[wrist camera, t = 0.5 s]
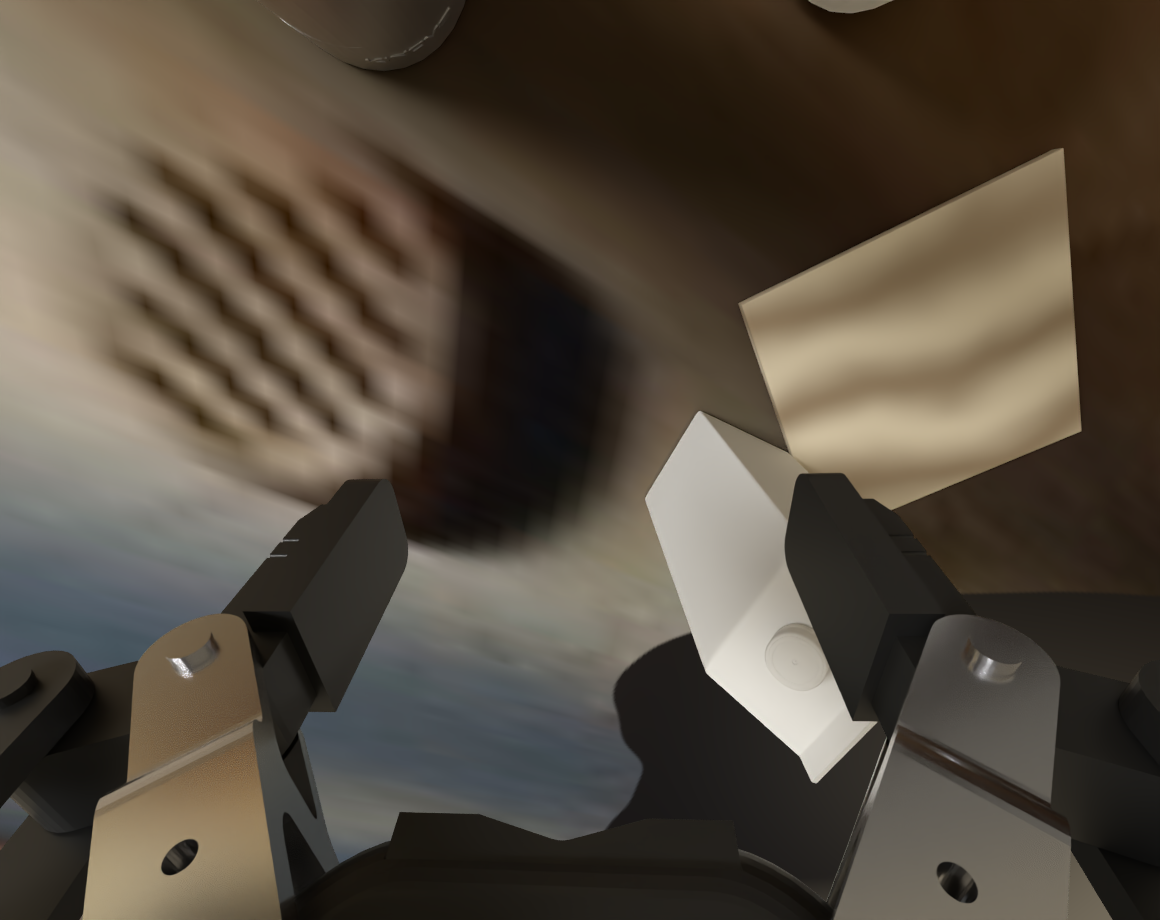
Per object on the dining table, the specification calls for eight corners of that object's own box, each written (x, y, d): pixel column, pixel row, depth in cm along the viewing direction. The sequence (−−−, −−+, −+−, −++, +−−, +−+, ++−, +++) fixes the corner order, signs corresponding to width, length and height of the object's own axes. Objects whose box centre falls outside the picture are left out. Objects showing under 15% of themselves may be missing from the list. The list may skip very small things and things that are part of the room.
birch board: (738, 303, 31) (741, 304, 30) (1053, 149, 28) (1063, 147, 28) (817, 534, 38) (821, 539, 38) (1073, 427, 36) (1081, 431, 35)
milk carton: (788, 451, 35) (1022, 680, 18) (729, 534, 38) (886, 804, 20) (698, 408, 33) (861, 615, 16) (643, 498, 36) (734, 759, 19)
